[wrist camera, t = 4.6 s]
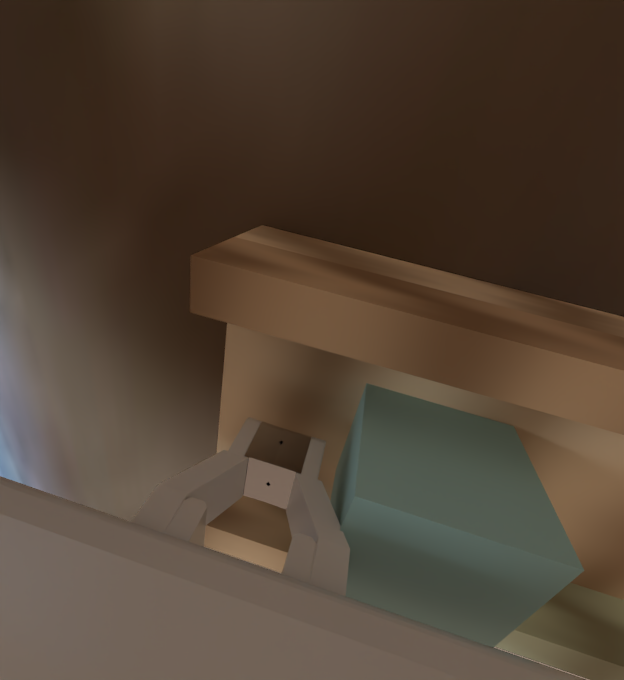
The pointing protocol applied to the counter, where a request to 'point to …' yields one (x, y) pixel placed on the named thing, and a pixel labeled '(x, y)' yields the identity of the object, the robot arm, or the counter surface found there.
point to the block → (446, 518)
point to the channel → (428, 398)
